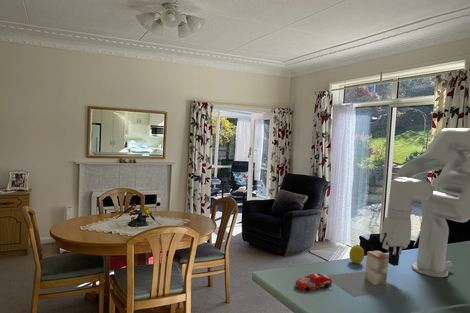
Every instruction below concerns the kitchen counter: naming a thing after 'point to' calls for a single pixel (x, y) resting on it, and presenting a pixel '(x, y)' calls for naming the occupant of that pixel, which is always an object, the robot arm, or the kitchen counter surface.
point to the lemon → (356, 254)
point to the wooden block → (376, 267)
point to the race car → (313, 282)
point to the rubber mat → (360, 284)
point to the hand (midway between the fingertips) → (393, 264)
